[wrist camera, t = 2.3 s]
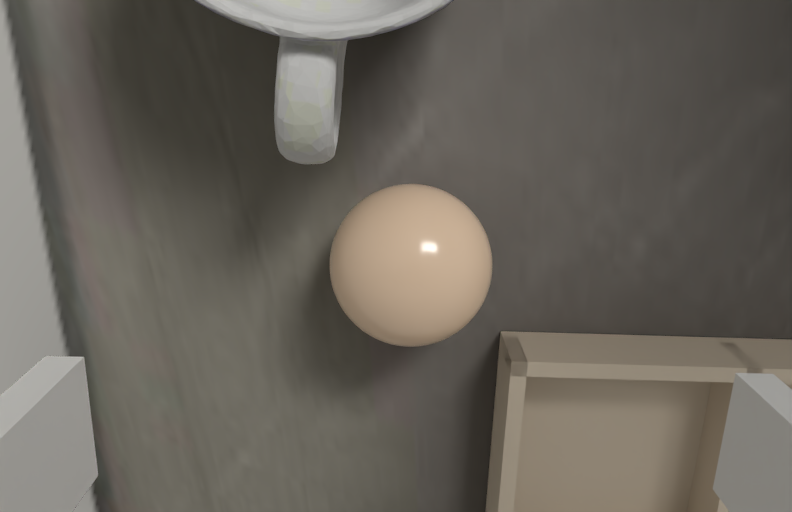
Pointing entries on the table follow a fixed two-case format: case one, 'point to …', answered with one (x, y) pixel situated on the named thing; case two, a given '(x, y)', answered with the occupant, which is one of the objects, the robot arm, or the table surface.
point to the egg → (410, 265)
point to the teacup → (316, 59)
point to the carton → (616, 419)
